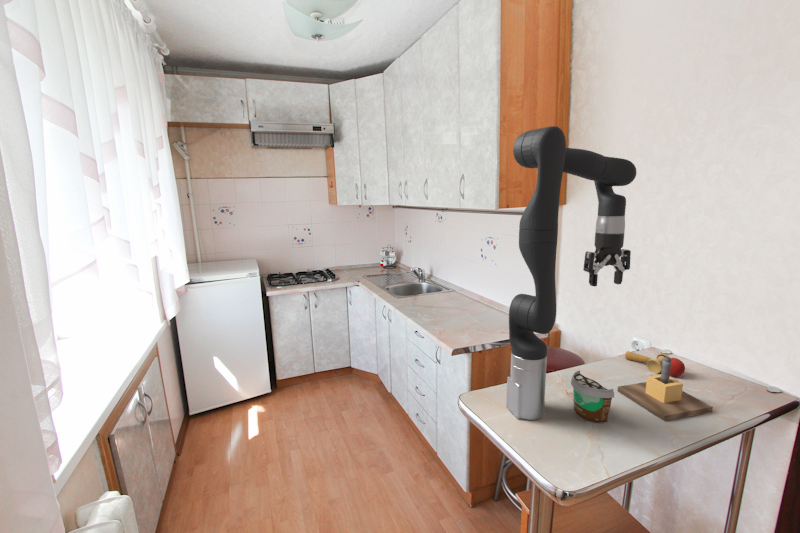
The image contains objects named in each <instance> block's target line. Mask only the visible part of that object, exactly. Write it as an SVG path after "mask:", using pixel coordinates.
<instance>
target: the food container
mask: <svg viewBox="0 0 800 533" xmlns="http://www.w3.org/2000/svg"><path fill="white" fill-rule="evenodd" d="M570 385H571V386H572V389H573V391H572V392H573V393H572V394H573V411H574V414H576V415H577V416H578V417H580V418H581V419H583V420H585V421H587V422H592V423H597V424H603V423H604V424H605V423H608V420H609V414H610V409H611V404H612V399H613V398H615V391H614V388H611V389H608V388H606V387H604V386H602V384H600V383H599V382H597V381H596V380H594V379H591V378H589V377H586V376H584V375H583V374H582V373H581V370H576V371H575V372H574V373H573V375H572V376H571V378H570Z"/></svg>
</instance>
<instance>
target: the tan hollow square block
mask: <svg viewBox="0 0 800 533" xmlns="http://www.w3.org/2000/svg"><path fill="white" fill-rule="evenodd" d="M660 379H661V374H657V375H650V376H647V377H646V381H645V382H646V392H645V393H647V394H649V395H650V396H652V397H654V398H656V399H657V400H659V401H661V402H662V403H668V402H673V401H678V400H681V396H682V391H683V386H684V383H683V382H681V381H678V380H676V379H675V378H672V376H669V384H664V383H662V382H660Z"/></svg>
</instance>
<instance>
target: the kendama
mask: <svg viewBox="0 0 800 533" xmlns="http://www.w3.org/2000/svg"><path fill="white" fill-rule="evenodd" d="M624 356H625V357H624V359H625V360H628V361H629V360H630V361H633V362H639V363H646V367H647V369H648V370H649V371H650V372H652V373H654V374H661V370H662V362H663V358H664V357H669V358H670V359H671V368H670V376H669V377H676V378H677V377H681V376H683V375H684V374H685V371H686V367H685V363H684V362H683V361H682V360H681V359H679V358H677V357H671V356H669V355H668V354H666V353H660V354H657V356H656V358H652V357H649V356H646V355H643V354H639V353H636V352H633V351H630V350H628V351H626V352H625V355H624Z"/></svg>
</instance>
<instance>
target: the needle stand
mask: <svg viewBox="0 0 800 533" xmlns="http://www.w3.org/2000/svg"><path fill="white" fill-rule="evenodd" d="M669 357H670V356H669ZM669 357H664V358H663V362H662V370H661V372H660V375H661V379H660V382H662V383H664V384H669V377H671V376H670V368H671V359H670V358H671V357H670V358H669ZM646 382H647V381H644V382H638V383H632V384H625V385H620V386H617V392H618V393H620V395H623V396H624V397H625V398H627V399H629V400H630V401H631V402H634V403H636V404H637V405H638V406H640V407H641V408H643V409H645V410H646V411H647V412H649V413H651V414H652V415H654V416H656V417H657V418H659V419H660V420H661V421H664V422H666V421H671V420H676V419H678V420H679V419H681V418H686V417H687V418H688V417H693V416H697V415H702V414H708V413H712V412H713V408H714V407H713V406H712V405H710V404H709V403H706V402H704V401H703V400H702V399H701V400H700V399H699V398H697V397H695V396H693V395H691V394H689V393H688V392H686V391H684V390H682V396H681V400H678V401H673V402H668V403H662V402H661V401H659V400H657V399H656V398H654V397H652V396H650V395H649V394H647V393H645V392H646Z"/></svg>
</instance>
